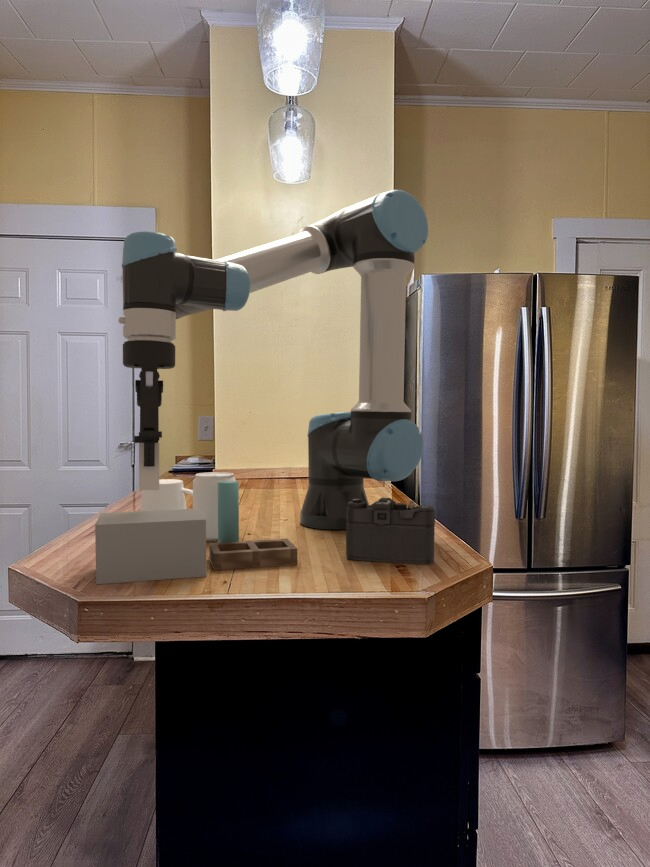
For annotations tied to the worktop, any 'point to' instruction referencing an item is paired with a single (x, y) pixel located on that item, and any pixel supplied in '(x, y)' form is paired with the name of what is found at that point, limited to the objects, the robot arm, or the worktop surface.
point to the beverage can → (209, 499)
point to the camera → (390, 532)
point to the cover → (150, 545)
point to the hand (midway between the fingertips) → (149, 484)
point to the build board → (252, 554)
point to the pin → (228, 511)
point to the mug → (165, 496)
